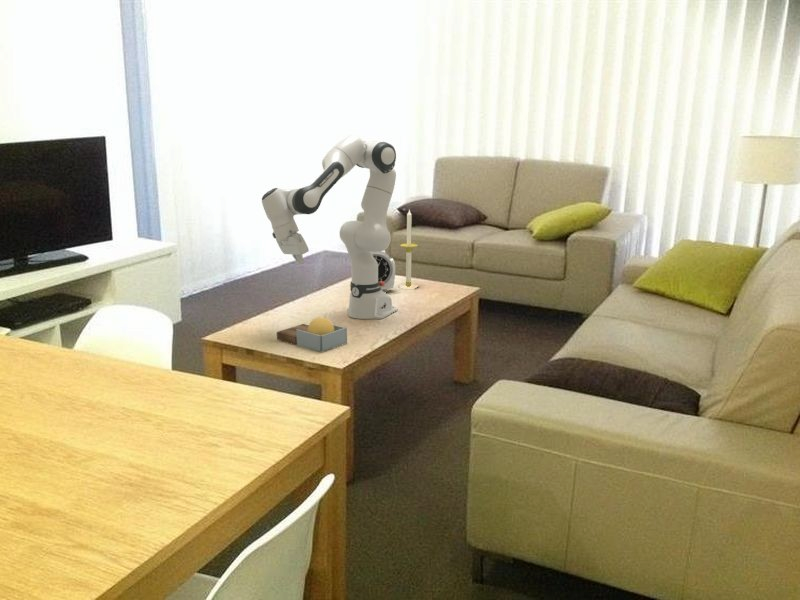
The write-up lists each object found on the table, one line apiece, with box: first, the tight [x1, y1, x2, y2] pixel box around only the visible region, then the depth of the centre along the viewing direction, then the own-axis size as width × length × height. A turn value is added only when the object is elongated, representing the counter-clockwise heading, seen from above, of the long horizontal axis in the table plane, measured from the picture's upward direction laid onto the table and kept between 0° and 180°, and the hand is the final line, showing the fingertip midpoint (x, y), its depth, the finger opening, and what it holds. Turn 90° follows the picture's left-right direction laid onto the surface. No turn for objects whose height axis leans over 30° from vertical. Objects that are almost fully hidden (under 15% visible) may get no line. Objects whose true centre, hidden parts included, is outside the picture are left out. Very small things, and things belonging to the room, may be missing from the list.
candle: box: [399, 208, 419, 287], centre depth 380 cm, size 10×10×38 cm
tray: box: [296, 323, 348, 353], centre depth 298 cm, size 14×13×6 cm
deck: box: [276, 323, 309, 346], centre depth 305 cm, size 14×10×3 cm
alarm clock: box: [371, 249, 396, 293], centre depth 373 cm, size 18×8×20 cm, turn 90°
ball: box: [307, 317, 335, 335], centre depth 296 cm, size 10×10×10 cm
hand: (301, 263), depth 309 cm, fingers closed
